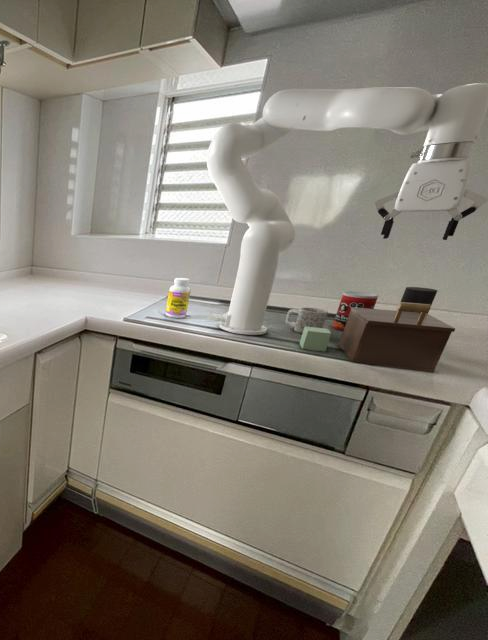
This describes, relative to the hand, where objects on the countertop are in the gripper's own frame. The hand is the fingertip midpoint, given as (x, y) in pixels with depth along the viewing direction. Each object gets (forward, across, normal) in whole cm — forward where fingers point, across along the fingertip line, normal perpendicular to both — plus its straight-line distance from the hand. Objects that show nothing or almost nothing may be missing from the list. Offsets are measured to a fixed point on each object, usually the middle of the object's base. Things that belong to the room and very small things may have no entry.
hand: (414, 239), depth 92 cm
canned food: (+28, -8, +26) cm, 39 cm away
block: (+28, -12, -4) cm, 31 cm away
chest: (+28, +2, 0) cm, 28 cm away
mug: (+28, -18, +15) cm, 36 cm away
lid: (+19, +2, -1) cm, 19 cm away
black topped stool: (+28, +4, +19) cm, 34 cm away
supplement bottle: (+28, -52, +4) cm, 59 cm away
